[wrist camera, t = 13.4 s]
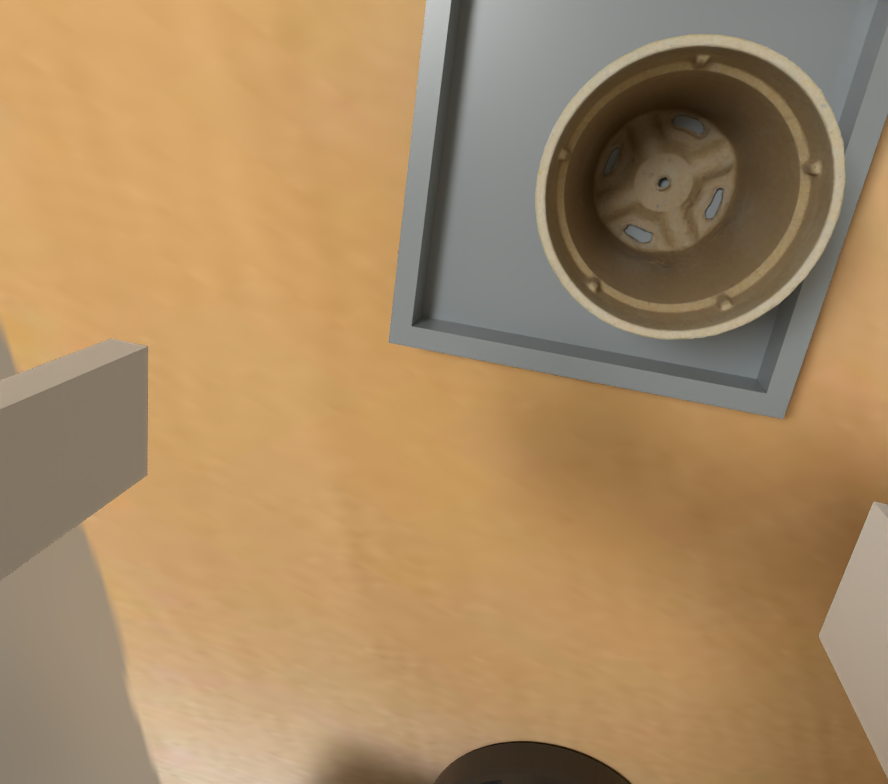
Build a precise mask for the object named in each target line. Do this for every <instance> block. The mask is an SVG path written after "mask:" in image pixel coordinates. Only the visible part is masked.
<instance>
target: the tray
mask: <svg viewBox="0 0 888 784" xmlns="http://www.w3.org/2000/svg"><path fill="white" fill-rule="evenodd" d="M690 34H719V35H726V36H732V37H738V38H742V39H745V40H749V41H752V42H755V43H757V44H761V45H764V46H766V47H768V48H770V49H772V50H773V51H775V52H778V53H779V54H781V55H783V56H785V57H787V58H788V59H789V60H791V61H793V62H794V63H795V64H796V65H797V66H799V67H800V68H801V69H802V70H803V71H804V72H805V73H806V74H807V75H808V76H809V77H810V78H811V79H812V80H813V82H814V83H815V84H816V85H817V86H818V88H820V89H821V90H822V92H823V94H824V96H825V98H826V100H827V102H828V103H829V105H830V107H831V108H832V111H833V113H834V114H835V118H836V121H837V123H838V126H839V129H840V131H841V137H842V139H843V142H844V154H845V174H846V178H845V181H846V182H845V188H844V197H843V202H842V207H841V211H840V215H839V218H838V221H837V223H836V226H835V229H834V231H833V233H832V236H831V238H830V240H829V242H828V244H827V246H826V248H825V250H824V252H823V253H822V255H821V257H820V258H819V260H818V261H817V262H816V265H815V266H814V267H813V268H812V269H811V271H810V272H809V274H808V275H807V277H806V278H805V279H804V280H803V281H802V282H801V283H800V284H799V285H798V286H797V287H796V288H795V289H794V291H792V292H791V294H790V295H788V296H787V297H786V298H785V299H784V300H783V301H782V302H781V303H779V304H778V305H777V306H775V307H774V308H772V309H771V310H769V311H768V312H766V313H765V314H763V315H762V316H760V317H758V318H757V319H755V320H753V321H751V322H749V323H747V324H745V325H743V326H740V327H738V328H735V329H733V330H730V331H727V332H723V333H721V334H718V335H714V336H707V337H703V338H694V339H675V340H666V339H656V338H649V337H643V336H640V335H636V334H633V333H630V332H626V331H623V330H621V329H618V328H616V327H614V326H612V325H610V324H608V323H606V322H604V321H602V320H600V319H599V318H598V317H596V316H595V315H593V314H592V313H590V312H589V311H588V310H587V309H585V308H584V307H583V306H582V305H580V304H579V303H578V302H577V301H576V300H575V299H574V298H573V297H572V296H571V295H570V294H569V292H568V291H567V290H566V289H565V288H564V286H563V285H562V284H561V282H560V281H559V279H558V278H557V276H556V274H555V272H554V271H553V269H552V267H551V266H550V264H549V262H548V260H547V257H546V255H545V253H544V249H543V246H542V242H541V240H540V237H539V232H538V226H537V222H536V221H537V219H536V212H535V190H536V181H537V174H538V171H539V166H540V161H541V159H542V155H543V151H544V148H545V145H546V143H547V141H548V138H549V136H550V134H551V131H552V129H553V127H554V125H555V124H556V122H557V120H558V119H559V117H560V115H561V114H562V112H563V110H564V109H565V108H566V106H567V104H568V103H569V102H570V101H571V99H572V98H573V97H574V96H575V95H576V94H577V92H578V91H579V90H580V89H581V88H582V87H583V86H584V85H585V84H586V83H587V82H588V81H589V80H590V79H591V78H592V77H593V76H594V75H595V74H597V73H598V72H599V71H600V70H602V69H603V68H604V67H606V66H607V65H608V64H610V63H611V62H613V61H615V60H616V59H618V58H620V57H621V56H623V55H625V54H627V53H629V52H631V51H633V50H635V49H637V48H639V47H642V46H644V45H646V44H649V43H651V42H655V41H659V40H663V39H666V38H671V37H676V36H682V35H690ZM887 115H888V0H427V1H426V10H425V19H424V28H423V37H422V46H421V55H420V64H419V73H418V82H417V91H416V100H415V109H414V118H413V127H412V136H411V145H410V154H409V163H408V172H407V181H406V190H405V199H404V208H403V217H402V226H401V235H400V244H399V253H398V262H397V271H396V280H395V289H394V298H393V307H392V316H391V325H390V334H389V343H393V344H398V345H404V346H409V347H414V348H419V349H424V350H429V351H434V352H440V353H445V354H450V355H455V356H460V357H465V358H471V359H476V360H481V361H486V362H491V363H496V364H502V365H507V366H512V367H517V368H522V369H527V370H532V371H538V372H543V373H548V374H553V375H558V376H563V377H569V378H574V379H579V380H584V381H589V382H594V383H600V384H605V385H610V386H615V387H620V388H625V389H630V390H636V391H641V392H646V393H651V394H656V395H661V396H667V397H672V398H677V399H682V400H687V401H692V402H698V403H703V404H708V405H713V406H718V407H723V408H728V409H734V410H739V411H744V412H749V413H754V414H759V415H765V416H770V417H775V418H780V419H783V418H784V416H785V413H786V410H787V407H788V404H789V401H790V398H791V395H792V392H793V389H794V386H795V383H796V381H797V378H798V375H799V372H800V369H801V366H802V363H803V360H804V357H805V354H806V351H807V348H808V345H809V343H810V340H811V337H812V334H813V331H814V328H815V325H816V322H817V319H818V316H819V313H820V310H821V308H822V305H823V302H824V299H825V296H826V293H827V290H828V287H829V284H830V281H831V278H832V275H833V272H834V270H835V267H836V264H837V261H838V258H839V255H840V252H841V249H842V246H843V243H844V240H845V237H846V235H847V232H848V229H849V226H850V223H851V220H852V217H853V214H854V211H855V208H856V205H857V202H858V199H859V197H860V194H861V191H862V188H863V185H864V182H865V179H866V176H867V173H868V170H869V167H870V164H871V162H872V159H873V156H874V153H875V150H876V147H877V144H878V141H879V138H880V135H881V132H882V129H883V126H884V124H885V121H886V118H887ZM674 124H676V125H679V126H683V127H685V128H688V129H691V130H693V131H695V132H698V133H702V132H703V130H704V129H703V125H702V124H701V123H700V122H699V121H698V120H696V119H692V118H691V117H688V116H677V117H676V118H675V120H674ZM619 152H620V150H619V149H616V150H614V151H613V152H612V154H611V155H610V158H609V160H608V162H607V165H606V168H605V170H604V173H607V174H608V173H610V171H611V169H612V168H613V166H614V165H615V164H616V165H617V162H616V158H617V156H618V154H619ZM658 185H659V187H661V188H663V187H666V186H667V185H668V179H667V178H666V177H663V178H661V179H660V180H659V182H658ZM722 192H723V189H717V191H716V192H715V194H714V197H713V199H712V201H711V203H710V205H709V206H708V207H707V209H706V210H705V216H706V218H712V217H713V216H714V215H715V213H716V211H717V209H718V207H719V204H720V202H721V198H722V195H721V194H722ZM624 231H625V232H626V233H627V234H628V235H630V236H632V237H633V238H635V239H636V240H638V241H640V242H649V241H650V239H651V235H652V234H651V232H649V233H648V232H646V231H643V230H641V229H640V228H637V227H635V226H633V225H628V226H627V227H626V229H625V230H624Z"/></svg>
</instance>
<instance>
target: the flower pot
mask: <svg viewBox="0 0 888 784" xmlns="http://www.w3.org/2000/svg"><path fill="white" fill-rule="evenodd" d="M677 116H688V117H691V118H692V119H696V120H698V121H699V122H700V123H701V124H702V125H703V129H704V130H703V132H702V133H698V132H695V131H693V130H691V129H688V128H685V127H683V126H679V125H676V124H674V120H675V118H676V117H677ZM616 149H619V150H620V152H619V154H618V156H617V158H616V162H617V165H616V164H615V165H614V166H613V168H612V169H611V171H610V173H608V174H607V173H604V170H605V168H606V165H607V162H608V160H609V158H610V155H611V154H612V152H613V151H614V150H616ZM663 177H666V178H667V179H668V185H667V186H666V187H663V188H661V187H659V185H658V182H659V180H660V179H661V178H663ZM845 178H846V174H845V154H844V142H843V139H842V137H841V131H840V129H839V126H838V123H837V121H836V118H835V114H834V113H833V111H832V108H831V107H830V105H829V103H828V102H827V100H826V98H825V96H824V94H823V92H822V90H821V89H820V88H818V86H817V85H816V84H815V83H814V82H813V80H812V79H811V78H810V77H809V76H808V75H807V74H806V73H805V72H804V71H803V70H802V69H801V68H800V67H799V66H797V65H796V64H795V63H794V62H793V61H791V60H789V59H788V58H787V57H785V56H783V55H781V54H779V53H778V52H775V51H773V50H772V49H770V48H768V47H766V46H764V45H761V44H757V43H755V42H752V41H749V40H745V39H742V38H738V37H732V36H726V35H719V34H690V35H682V36H676V37H671V38H666V39H663V40H659V41H655V42H651V43H649V44H646V45H644V46H642V47H639V48H637V49H635V50H633V51H631V52H629V53H627V54H625V55H623V56H621V57H620V58H618V59H616V60H615V61H613V62H611V63H610V64H608V65H607V66H606V67H604V68H603V69H602V70H600V71H599V72H598V73H597V74H595V75H594V76H593V77H592V78H591V79H590V80H589V81H588V82H587V83H586V84H585V85H584V86H583V87H582V88H581V89H580V90H579V91H578V92H577V94H576V95H575V96H574V97H573V98H572V99H571V101H570V102H569V103H568V104H567V106H566V108H565V109H564V110H563V112H562V114H561V115H560V117H559V119H558V120H557V122H556V124H555V125H554V127H553V129H552V131H551V134H550V136H549V138H548V141H547V143H546V145H545V148H544V151H543V155H542V159H541V161H540V166H539V171H538V174H537V181H536V190H535V212H536V219H537V221H536V222H537V226H538V232H539V237H540V240H541V242H542V246H543V249H544V253H545V255H546V257H547V260H548V262H549V264H550V266H551V267H552V269H553V271H554V272H555V274H556V276H557V278H558V279H559V281H560V282H561V284H562V285H563V286H564V288H565V289H566V290H567V291H568V292H569V294H570V295H571V296H572V297H573V298H574V299H575V300H576V301H577V302H578V303H579V304H580V305H582V306H583V307H584V308H585V309H587V310H588V311H589V312H590V313H592V314H593V315H595V316H596V317H598V318H599V319H600V320H602V321H604V322H606V323H608V324H610V325H612V326H614V327H616V328H618V329H621V330H623V331H626V332H630V333H633V334H636V335H640V336H643V337H649V338H656V339H666V340H675V339H694V338H703V337H707V336H714V335H718V334H721V333H723V332H727V331H730V330H733V329H735V328H738V327H740V326H743V325H745V324H747V323H749V322H751V321H753V320H755V319H757V318H758V317H760V316H762V315H763V314H765V313H766V312H768V311H769V310H771V309H772V308H774V307H775V306H777V305H778V304H779V303H781V302H782V301H783V300H784V299H785V298H786V297H787V296H788V295H790V294H791V292H792V291H794V289H795V288H796V287H797V286H798V285H799V284H800V283H801V282H802V281H803V280H804V279H805V278H806V277H807V275H808V274H809V272H810V271H811V269H812V268H813V267H814V266H815V265H816V262H817V261H818V260H819V258H820V257H821V255H822V253H823V252H824V250H825V248H826V246H827V244H828V242H829V240H830V238H831V236H832V233H833V231H834V229H835V226H836V223H837V221H838V218H839V215H840V211H841V207H842V202H843V197H844V188H845V182H846V181H845ZM717 189H723V192H722V194H721V195H722V198H721V202H720V204H719V207H718V209H717V211H716V213H715V215H714V216H713V217H712V218H706V216H705V210H706V209H707V207H708V206H709V205H710V203H711V201H712V199H713V197H714V194H715V192H716V191H717ZM628 225H633V226H635V227H637V228H640V229H641V230H643V231H646V232H648V233H649V232H651V234H652V235H651V239H650V241H649V242H640V241H638V240H636V239H635V238H633V237H632V236H630V235H628V234H627V233H626V232H625V231H624V230H625V229H626V227H627V226H628Z"/></svg>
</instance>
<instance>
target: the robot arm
mask: <svg viewBox="0 0 888 784" xmlns="http://www.w3.org/2000/svg"><path fill="white" fill-rule="evenodd" d="M147 443H148V346H145V345H140V344H135V343H130V342H126V341H121V340H116V339H112V338H111V339H109V340H106V341H103V342H101V343H98V344H95V345H93V346H90V347H87V348H85V349H82V350H79V351H77V352H74V353H71V354H69V355H66V356H64V357H61V358H58V359H56V360H53V361H50V362H48V363H45V364H42V365H40V366H37V367H34V368H32V369H29V370H26V371H24V372H21V373H18V374H16V375H13V376H10V377H8V378H5V379H3V380H0V581H1V580H2V579H3V578H5V577H6V576H8V575H9V574H10V573H12V572H13V571H14V570H16V569H17V568H19V567H20V566H21V565H23V564H24V563H26V562H27V561H29V560H30V559H31V558H32V557H34V556H35V555H37V554H38V553H40V552H41V551H42V550H44V549H45V548H46V547H48V546H49V545H51V544H52V543H54V542H55V541H56V540H58V539H59V538H61V537H62V536H63V535H65V534H66V533H67V532H69V531H70V530H72V529H73V528H74V527H76V526H77V525H79V524H80V523H81V522H83V521H84V520H86V519H87V518H88V517H90V516H91V515H93V514H94V513H95V512H97V511H98V510H99V509H101V508H102V507H104V506H105V505H106V504H108V503H109V502H111V501H112V500H113V499H115V498H116V497H118V496H119V495H120V494H122V493H123V492H125V491H126V490H127V489H129V488H130V487H131V486H133V485H134V484H136V483H137V482H138V481H140V480H141V479H143V478H144V477H145V476H147ZM818 637H819V639H820V641H821V643H822V645H823V647H824V649H825V651H826V653H827V655H828V657H829V659H830V661H831V663H832V665H833V667H834V669H835V672H836V674H837V676H838V678H839V680H840V682H841V684H842V686H843V688H844V690H845V692H846V694H847V696H848V698H849V700H850V702H851V704H852V706H853V709H854V711H855V713H856V715H857V717H858V719H859V721H860V723H861V725H862V727H863V729H864V731H865V733H866V735H867V737H868V739H869V741H870V744H871V746H872V748H873V750H874V752H875V754H876V756H877V758H878V760H879V762H880V764H881V766H882V768H883V770H884V772H885V774H886V776H887V779H888V504H884V503H879V502H873V504H872V507H871V509H870V512H869V514H868V516H867V519H866V521H865V524H864V526H863V529H862V531H861V534H860V536H859V538H858V541H857V543H856V546H855V548H854V551H853V553H852V555H851V558H850V560H849V563H848V565H847V568H846V570H845V572H844V575H843V577H842V580H841V582H840V585H839V587H838V590H837V592H836V594H835V597H834V599H833V602H832V604H831V607H830V609H829V611H828V614H827V616H826V619H825V621H824V624H823V626H822V629H821V631H820V633H819V636H818ZM434 784H629V783H628V782H627V781H625V780H624V779H623V778H622V777H620V776H619V775H618V774H616V773H615V772H614V771H612V770H611V769H609V768H607V767H606V766H604V765H602V764H601V763H599V762H597V761H595V760H593V759H591V758H589V757H586V756H584V755H582V754H579V753H576V752H573V751H570V750H567V749H563V748H559V747H555V746H550V745H545V744H537V743H505V744H498V745H492V746H488V747H484V748H481V749H478V750H475V751H473V752H470V753H468V754H466V755H464V756H462V757H461V758H459V759H457V760H456V761H454V762H453V763H452V764H450V765H449V766H448V767H447V768H446V769H445V770H444V771H443V772H442V773H441V775H440V776H439V777H438V779H437V780H436V782H435V783H434Z"/></svg>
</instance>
